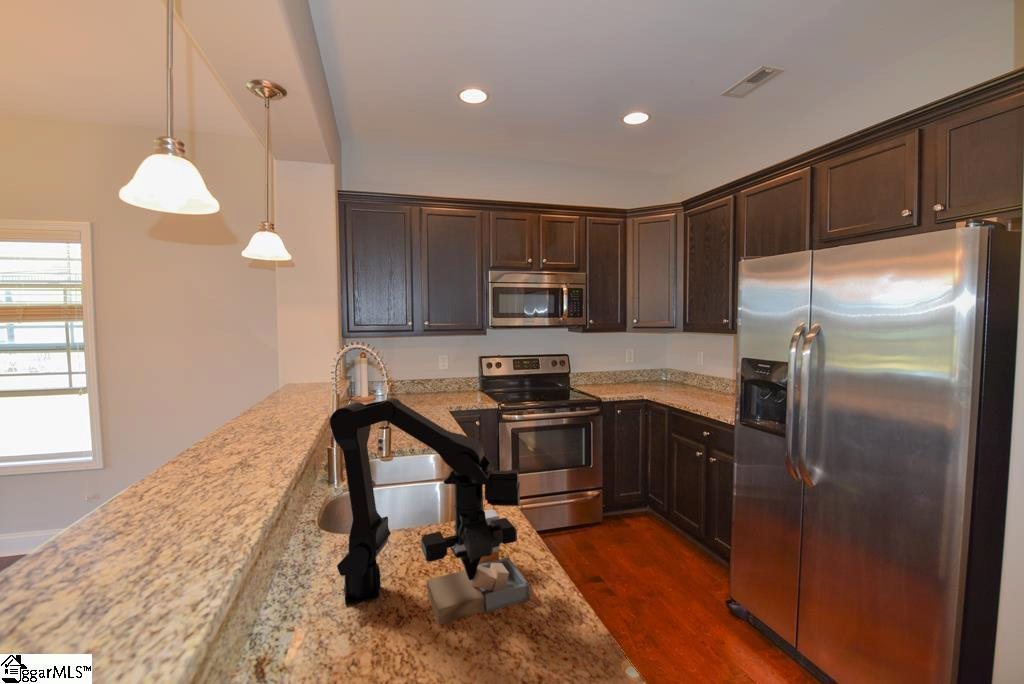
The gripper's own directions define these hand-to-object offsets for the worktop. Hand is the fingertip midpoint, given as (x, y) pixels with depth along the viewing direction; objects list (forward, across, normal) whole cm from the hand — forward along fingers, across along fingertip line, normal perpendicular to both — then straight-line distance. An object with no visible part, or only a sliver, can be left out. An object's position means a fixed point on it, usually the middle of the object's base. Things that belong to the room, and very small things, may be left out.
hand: (470, 579), depth 88 cm
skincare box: (+4, +7, +10) cm, 13 cm away
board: (+4, -3, 0) cm, 5 cm away
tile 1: (+1, +2, 0) cm, 2 cm away
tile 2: (+1, +5, 0) cm, 5 cm away
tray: (+4, +6, 0) cm, 7 cm away
